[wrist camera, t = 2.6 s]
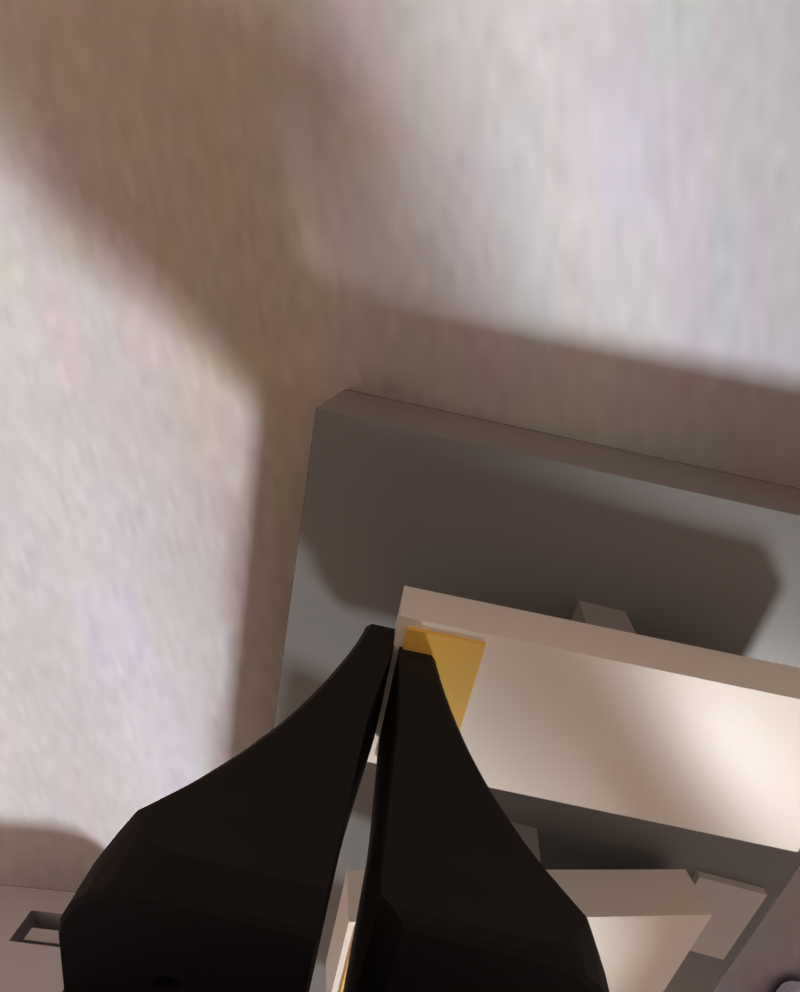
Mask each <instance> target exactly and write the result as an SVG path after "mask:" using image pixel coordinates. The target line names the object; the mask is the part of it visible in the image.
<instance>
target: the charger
mask: <svg viewBox="0 0 800 992" xmlns="http://www.w3.org/2000/svg"><path fill="white" fill-rule="evenodd" d="M75 893H76V892H66V891H56V890H46V889H36V888H26V887H16V886H5V885H2V886H0V992H62V991H63V990H64V984H63V974H62V964H61V954H60V944H59V934H58V933H59V924H60V917H61V915H62V914H63V912H64V911H65V909H66V908H67V906H68V904H69V903H70V901H71V900H72V898H73V896H74V895H75Z"/></svg>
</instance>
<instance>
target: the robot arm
mask: <svg viewBox="0 0 800 992" xmlns="http://www.w3.org/2000/svg"><path fill="white" fill-rule="evenodd" d="M394 635H395V629H393V628H389V627H384V626H380V625H375V624H370V625H368V626H366V628H365V630H364V632H363V634H362V635H361V637H360V639H359V640H358V642H357V643H356V644H355V646H354V647H353V649H352V650H351V651H350V653H349V654H348V655H347V657H346V658H345V659H344V660H343V661H342V663H341V664H340V665H339V666H338V667H337V668H336V670H335V671H334V672H333V673H332V674H331V675H330V677H329V678H328V679H327V680H326V681H325V682H324V683H323V684H322V685H321V686H320V687H319V688H318V689H317V690H316V691H315V692H314V693H313V694H312V695H311V696H310V697H309V698H308V699H307V700H306V701H305V702H304V703H303V704H302V705H301V706H300V707H299V708H298V709H296V710H295V711H294V712H293V713H292V714H291V715H290V716H288V717H287V718H286V719H285V720H284V721H282V722H281V723H280V724H279V725H278V726H276V727H275V728H274V729H273V730H271V731H270V732H269V733H267V734H266V735H265V736H263V737H262V738H261V739H259V740H258V741H257V742H255V743H254V744H253V745H251V746H250V747H249V748H247V749H246V750H244V751H243V752H241V753H240V754H238V755H237V756H235V757H234V758H232V759H231V760H229V761H227V762H226V763H224V764H222V765H221V766H219V767H218V768H216V769H214V770H213V771H211V772H210V773H208V774H206V775H205V776H203V777H201V778H200V779H198V780H196V781H195V782H193V783H191V784H189V785H187V786H185V787H183V788H182V789H180V790H178V791H176V792H174V793H172V794H170V795H168V796H166V797H164V798H162V799H160V800H158V801H156V802H154V803H152V804H150V805H148V806H146V807H144V808H142V809H140V810H138V811H137V812H136V813H135V814H134V815H133V816H132V817H131V819H130V820H129V821H128V822H127V823H126V824H125V826H124V827H123V828H122V829H121V830H120V831H119V832H118V834H117V835H116V836H115V838H114V839H113V840H112V841H111V843H110V844H109V845H108V846H107V847H106V849H105V850H104V851H103V852H102V854H101V855H100V856H99V858H98V859H97V860H96V862H95V863H94V865H93V866H92V868H91V869H90V871H89V872H88V874H87V876H86V877H85V879H84V881H83V882H82V884H81V885H80V887H79V888H78V890H77V892H76V893H75V895H74V896H73V898H72V900H71V901H70V903H69V904H68V906H67V908H66V909H65V911H64V912H63V914H62V915H61V917H60V924H59V933H58V934H59V944H60V954H61V964H62V974H63V984H64V990H63V991H62V992H309V990H310V986H311V981H312V977H313V972H314V968H315V963H316V958H317V954H318V949H319V945H320V940H321V936H322V931H323V927H324V922H325V917H326V913H327V908H328V904H329V899H330V895H331V890H332V886H333V881H334V876H335V872H336V867H337V863H338V858H339V854H340V850H341V847H342V843H343V839H344V835H345V832H346V829H347V826H348V822H349V819H350V816H351V813H352V809H353V806H354V803H355V800H356V796H357V793H358V790H359V787H360V783H361V780H362V777H363V774H364V770H365V767H366V764H367V760H368V757H369V754H370V751H371V747H372V744H373V741H374V737H375V732H376V728H377V723H378V718H379V714H380V709H381V705H382V700H383V695H384V691H385V686H386V682H387V677H388V673H389V668H390V663H391V659H392V654H393V650H394ZM343 992H609V988H608V983H607V979H606V975H605V971H604V968H603V965H602V962H601V959H600V955H599V952H598V949H597V946H596V943H595V940H594V937H593V934H592V931H591V928H590V925H589V922H588V919H587V917H586V916H585V915H584V913H583V912H582V911H581V910H580V909H579V908H578V907H577V905H576V904H575V903H574V902H573V901H572V900H571V898H570V897H569V896H568V895H567V894H566V893H565V892H564V890H563V889H562V888H561V887H560V886H559V885H558V883H557V882H556V881H555V880H554V879H553V878H552V877H551V875H550V874H549V873H548V872H547V871H546V870H545V868H544V867H543V866H542V865H541V863H540V862H539V861H538V859H537V858H536V857H535V855H534V854H533V853H532V852H531V850H530V849H529V848H528V846H527V845H526V844H525V842H524V841H523V839H522V838H521V836H520V835H519V833H518V832H517V830H516V829H515V828H514V826H513V825H512V823H511V822H510V820H509V819H508V817H507V816H506V814H505V813H504V811H503V810H502V808H501V807H500V805H499V804H498V802H497V801H496V799H495V797H494V796H493V794H492V792H491V791H490V789H489V787H488V785H487V784H486V782H485V780H484V779H483V777H482V775H481V773H480V771H479V769H478V768H477V766H476V764H475V762H474V760H473V758H472V756H471V754H470V752H469V750H468V748H467V746H466V744H465V742H464V740H463V737H462V735H461V733H460V730H459V728H458V726H457V724H456V721H455V719H454V716H453V714H452V711H451V709H450V706H449V703H448V700H447V697H446V695H445V692H444V689H443V686H442V683H441V680H440V676H439V673H438V669H437V666H436V662H435V660H434V658H433V657H432V655H428V654H423V653H418V652H414V651H409V650H404V649H403V647H399V652H398V656H397V661H396V665H395V670H394V674H393V679H392V683H391V688H390V692H389V697H388V701H387V706H386V710H385V715H384V719H383V724H382V728H381V733H380V737H379V743H378V753H377V764H376V774H375V785H374V796H373V806H372V817H371V827H370V838H369V846H368V854H367V861H366V867H365V873H364V878H363V884H362V890H361V895H360V901H359V906H358V912H357V917H356V923H355V928H354V934H353V940H352V945H351V951H350V956H349V962H348V967H347V973H346V978H345V983H344V989H343ZM776 992H800V982H798V981H787V982H784V983H783V984H781V986H780V987H779V988H778V990H777V991H776Z"/></svg>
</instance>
